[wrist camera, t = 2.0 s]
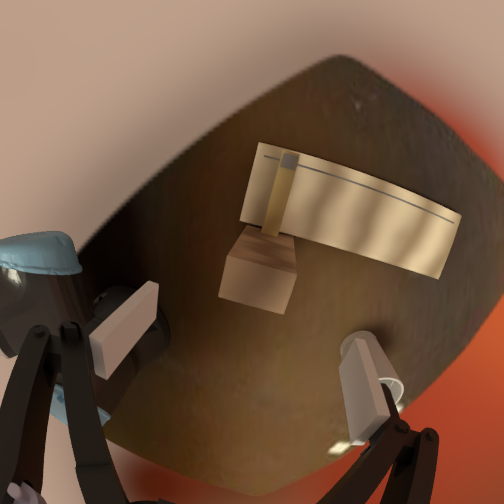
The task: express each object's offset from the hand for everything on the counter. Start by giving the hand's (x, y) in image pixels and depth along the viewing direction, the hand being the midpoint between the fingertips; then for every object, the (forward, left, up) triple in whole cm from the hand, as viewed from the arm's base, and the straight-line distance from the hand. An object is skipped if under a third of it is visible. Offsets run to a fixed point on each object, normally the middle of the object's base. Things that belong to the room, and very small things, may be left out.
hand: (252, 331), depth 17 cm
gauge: (0, +5, -21) cm, 21 cm away
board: (+11, +7, -21) cm, 24 cm away
